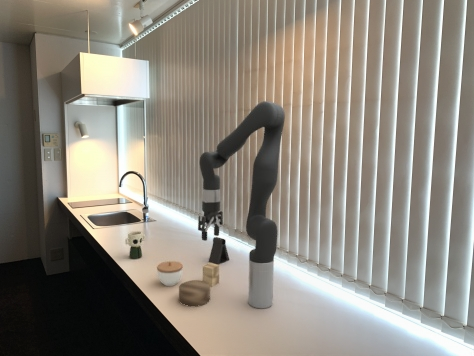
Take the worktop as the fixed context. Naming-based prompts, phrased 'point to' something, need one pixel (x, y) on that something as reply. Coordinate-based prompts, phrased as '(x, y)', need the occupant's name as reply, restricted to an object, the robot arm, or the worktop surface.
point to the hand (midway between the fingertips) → (210, 237)
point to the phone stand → (218, 251)
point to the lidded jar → (169, 272)
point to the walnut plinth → (194, 293)
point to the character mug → (135, 243)
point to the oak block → (211, 274)
